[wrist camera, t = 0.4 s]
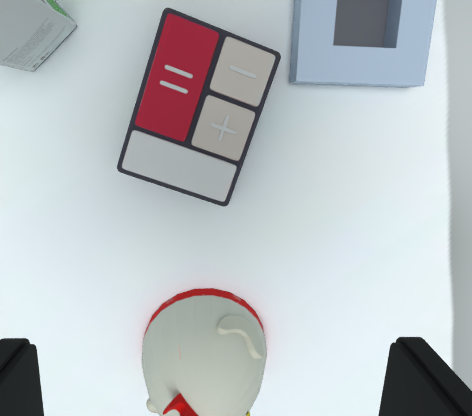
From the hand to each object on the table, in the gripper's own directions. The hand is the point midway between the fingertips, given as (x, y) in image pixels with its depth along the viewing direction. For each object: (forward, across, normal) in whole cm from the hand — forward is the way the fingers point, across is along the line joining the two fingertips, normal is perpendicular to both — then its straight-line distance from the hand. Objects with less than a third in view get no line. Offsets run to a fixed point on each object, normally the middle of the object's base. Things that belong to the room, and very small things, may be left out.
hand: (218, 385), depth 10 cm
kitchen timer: (+30, 0, +19) cm, 36 cm away
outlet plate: (+30, -13, -16) cm, 36 cm away
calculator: (+31, +2, -6) cm, 31 cm away
